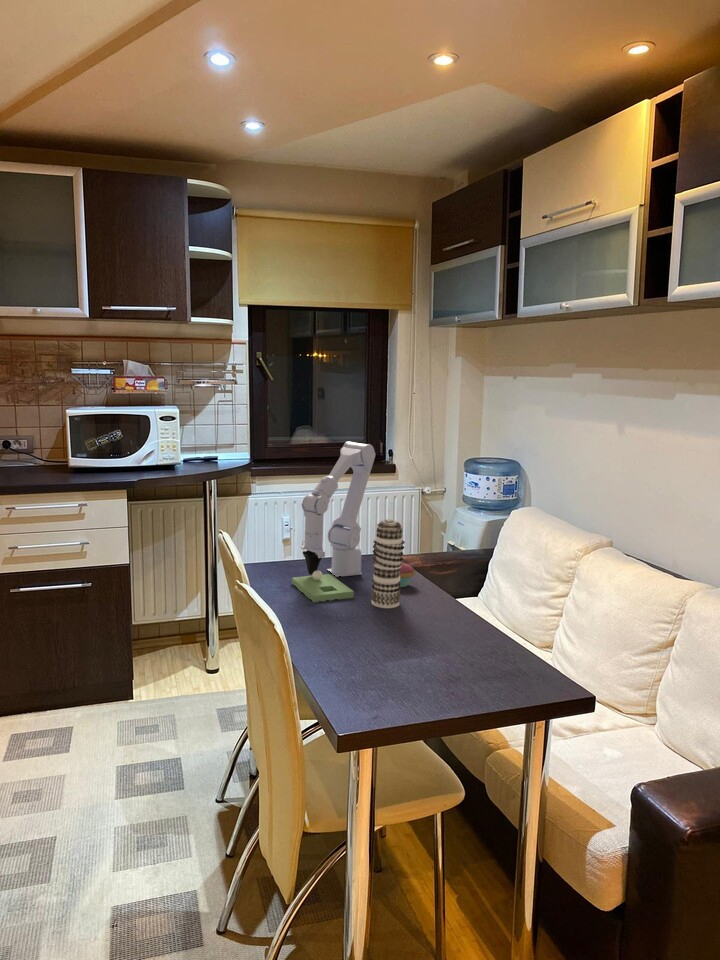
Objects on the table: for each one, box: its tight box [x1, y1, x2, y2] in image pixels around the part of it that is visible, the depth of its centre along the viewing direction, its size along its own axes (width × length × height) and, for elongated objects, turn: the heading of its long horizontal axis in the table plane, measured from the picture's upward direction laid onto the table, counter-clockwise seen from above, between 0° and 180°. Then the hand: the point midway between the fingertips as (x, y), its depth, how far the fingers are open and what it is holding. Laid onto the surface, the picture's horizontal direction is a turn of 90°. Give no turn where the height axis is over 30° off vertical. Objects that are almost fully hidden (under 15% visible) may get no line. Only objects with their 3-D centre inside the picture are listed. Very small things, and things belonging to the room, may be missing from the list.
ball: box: [311, 569, 324, 581], centre depth 225 cm, size 3×3×3 cm
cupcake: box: [400, 561, 416, 588], centre depth 231 cm, size 9×8×12 cm
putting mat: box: [291, 573, 354, 603], centre depth 222 cm, size 13×18×2 cm
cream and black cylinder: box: [370, 519, 406, 609], centre depth 212 cm, size 9×9×25 cm
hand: (312, 573), depth 229 cm, fingers closed
